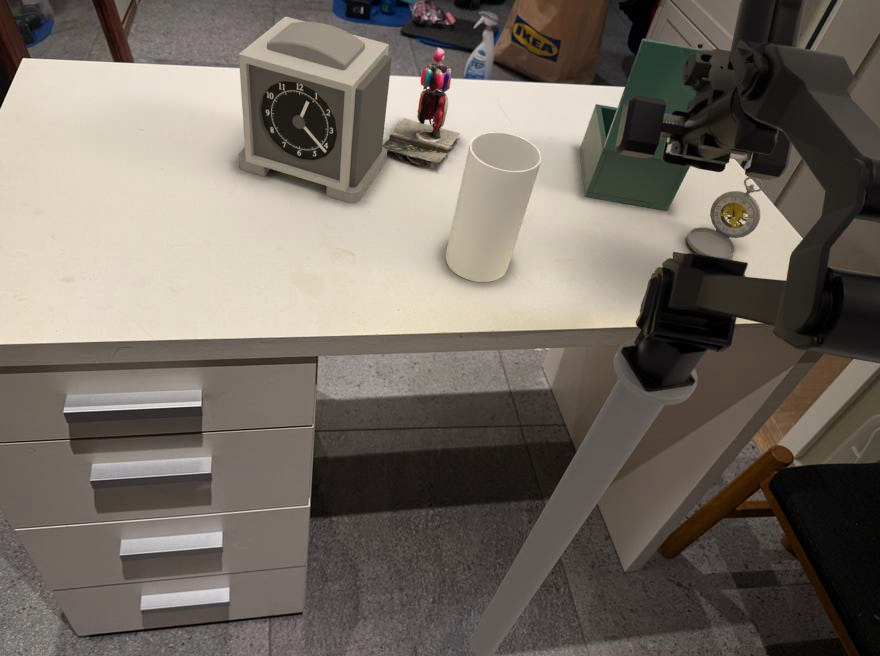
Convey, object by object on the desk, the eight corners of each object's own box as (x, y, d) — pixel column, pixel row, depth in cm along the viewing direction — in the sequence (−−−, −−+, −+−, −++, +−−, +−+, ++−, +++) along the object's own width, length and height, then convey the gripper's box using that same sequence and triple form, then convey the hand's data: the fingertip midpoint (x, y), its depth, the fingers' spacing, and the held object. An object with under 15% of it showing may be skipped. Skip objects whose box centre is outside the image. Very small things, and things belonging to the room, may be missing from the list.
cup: (434, 265, 84) (457, 154, 72) (460, 233, 89) (486, 123, 77) (493, 291, 82) (527, 181, 70) (516, 256, 87) (551, 148, 75)
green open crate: (579, 148, 108) (595, 103, 102) (655, 162, 108) (676, 117, 102) (584, 196, 99) (602, 149, 93) (667, 210, 99) (690, 165, 93)
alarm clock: (235, 167, 93) (224, 34, 79) (276, 125, 102) (273, -2, 88) (356, 204, 91) (367, 74, 77) (388, 158, 99) (403, 33, 86)
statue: (402, 130, 107) (417, 31, 98) (457, 145, 106) (477, 47, 96) (378, 154, 99) (392, 50, 89) (437, 171, 98) (457, 67, 88)
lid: (642, 38, 83) (643, 40, 82) (740, 55, 83) (742, 57, 82) (603, 145, 93) (604, 148, 92) (691, 161, 93) (692, 163, 92)
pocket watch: (686, 256, 92) (721, 195, 84) (683, 221, 97) (715, 161, 90) (745, 270, 91) (785, 210, 84) (738, 234, 97) (776, 175, 89)
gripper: (843, 54, 67) (760, 104, 82) (661, 22, 67) (612, 78, 82) (819, 164, 67) (741, 193, 83) (639, 133, 67) (595, 168, 83)
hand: (673, 156), depth 83 cm, fingers closed
